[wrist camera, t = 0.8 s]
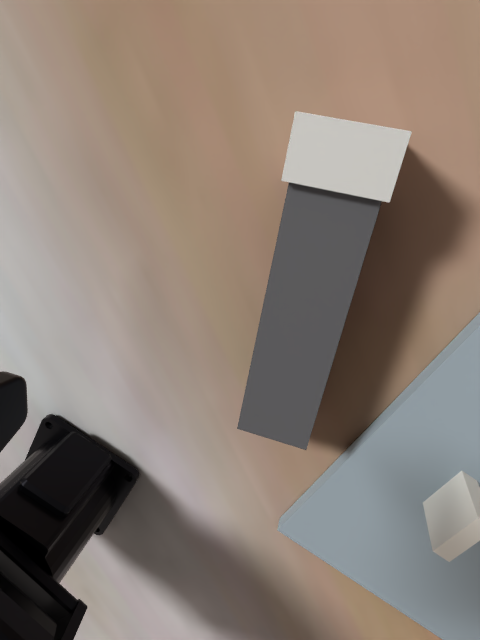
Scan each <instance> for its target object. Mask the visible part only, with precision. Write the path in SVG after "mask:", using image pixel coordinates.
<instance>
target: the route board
mask: <svg viewBox="0 0 480 640" xmlns="http://www.w3.org/2000/svg"><path fill="white" fill-rule="evenodd" d="M278 531H279V532H281V533H282V534H284V535H285V536H287V537H288V538H290V539H291V540H293V541H294V542H296V543H298V544H299V545H301V546H302V547H304V548H305V549H307V550H308V551H310V552H311V553H313V554H314V555H316V556H317V557H319V558H320V559H322V560H323V561H325V562H326V563H328V564H329V565H331V566H332V567H334V568H335V569H337V570H338V571H340V572H341V573H343V574H344V575H346V576H347V577H349V578H350V579H352V580H353V581H355V582H356V583H358V584H360V585H361V586H363V587H364V588H366V589H367V590H369V591H370V592H372V593H373V594H375V595H376V596H378V597H379V598H381V599H382V600H384V601H385V602H387V603H388V604H390V605H391V606H393V607H394V608H396V609H397V610H399V611H400V612H402V613H403V614H405V615H406V616H408V617H409V618H411V619H412V620H414V621H415V622H417V623H418V624H420V625H421V626H423V627H425V628H426V629H428V630H429V631H431V632H432V633H434V634H435V635H437V636H438V637H440V638H441V639H443V640H480V313H479V314H478V315H477V316H476V317H475V318H474V319H473V320H472V321H471V322H470V323H469V324H468V325H467V326H466V327H465V328H464V329H463V330H462V331H461V332H460V333H459V334H458V335H457V336H456V337H455V338H454V339H453V340H452V341H451V342H450V343H449V344H448V346H447V347H446V348H445V349H444V350H443V351H442V352H441V353H440V354H439V355H438V356H437V357H436V358H435V359H434V360H433V361H432V362H431V363H430V364H429V365H428V366H427V367H426V368H425V369H424V370H423V371H422V372H421V373H420V374H419V375H418V376H417V377H416V378H415V379H414V381H413V382H412V383H411V384H410V385H409V386H408V387H407V388H406V389H405V390H404V391H403V392H402V393H401V394H400V395H399V396H398V397H397V398H396V399H395V400H394V401H393V402H392V403H391V404H390V405H389V406H388V407H387V408H386V409H385V410H384V411H383V412H382V413H381V415H380V416H379V417H378V418H377V419H376V420H375V421H374V422H373V423H372V424H371V425H370V426H369V427H368V428H367V429H366V430H365V431H364V432H363V433H362V434H361V435H360V436H359V437H358V438H357V439H356V440H355V441H354V442H353V443H352V444H351V445H350V446H349V447H348V449H347V450H346V451H345V452H344V453H343V454H342V455H341V456H340V457H339V458H338V459H337V460H336V461H335V462H334V463H333V464H332V465H331V466H330V467H329V468H328V469H327V470H326V471H325V472H324V473H323V474H322V475H321V476H320V477H319V478H318V479H317V480H316V481H315V483H314V484H313V485H312V486H311V487H310V488H309V489H308V490H307V491H306V492H305V493H304V494H303V495H302V496H301V497H300V498H299V499H298V500H297V501H296V502H295V503H294V504H293V505H292V506H291V507H290V508H289V509H288V510H287V511H286V512H285V513H284V514H283V515H282V516H281V518H280V520H279V525H278Z"/></svg>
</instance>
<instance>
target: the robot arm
mask: <svg viewBox="0 0 480 640" xmlns="http://www.w3.org/2000/svg"><path fill="white" fill-rule="evenodd" d="M27 411H28V409H27V387H26V381H25V379H24V378H23V377H21V376H18V375H15V374H12V373H9V372H0V452H1V451H2V450H3V448H4V447H5V446H6V445H7V443H8V442H9V441H10V440H11V439H12V437H13V436H14V435H15V434H16V432H17V431H18V430H19V429H20V427H21V426H22V425H23V423H24V421H25V419H26V417H27ZM138 478H139V472H138V471H137V470H136V469H135V468H134V467H132V466H131V465H129V464H128V463H126V462H125V461H123V460H122V459H120V458H119V457H117V456H116V455H114V454H113V453H111V452H110V451H108V450H107V449H105V448H104V447H102V446H101V445H99V444H98V443H96V442H95V441H93V440H92V439H90V438H89V437H87V436H86V435H84V434H83V433H81V432H80V431H78V430H77V429H75V428H74V427H72V426H71V425H69V424H67V423H66V422H64V421H63V420H61V419H60V418H58V417H57V416H55V415H53V414H49V415H47V416H46V417H45V418H44V419H43V420H42V421H41V424H40V426H39V429H38V431H37V433H36V436H35V438H34V440H33V443H32V445H31V447H30V450H29V452H28V454H27V457H26V459H25V461H24V462H23V463H22V464H21V465H20V466H19V467H18V468H16V469H15V470H14V471H13V472H12V473H11V474H10V475H9V476H8V477H7V478H6V479H5V480H3V481H2V482H1V483H0V640H73V639H74V637H75V635H76V632H77V630H78V628H79V625H80V623H81V621H82V619H83V616H84V614H85V612H86V609H87V605H86V604H84V603H83V602H82V601H81V600H80V599H78V600H77V599H76V598H75V597H73V596H72V595H71V594H70V593H69V592H68V591H67V590H66V589H65V588H64V587H63V586H61V585H60V584H59V583H60V582H61V580H62V579H63V577H64V576H65V574H66V573H67V571H68V570H69V569H70V567H71V566H72V564H73V563H74V561H75V560H76V558H77V557H78V556H79V554H80V553H81V551H82V550H83V548H84V547H85V545H86V544H87V542H88V541H89V540H90V538H91V537H92V535H93V534H96V535H102V534H103V532H104V531H105V529H106V528H107V526H108V525H109V523H110V522H111V520H112V519H113V517H114V516H115V514H116V512H117V511H118V509H119V508H120V506H121V505H122V503H123V502H124V500H125V498H126V497H127V495H128V494H129V492H130V491H131V489H132V488H133V486H134V485H135V483H136V481H137V480H138Z"/></svg>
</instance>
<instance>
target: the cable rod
mask: <svg viewBox="0 0 480 640" xmlns="http://www.w3.org/2000/svg"><path fill="white" fill-rule="evenodd" d="M411 132H412V131H407V130H401V129H395V128H389V127H384V126H378V125H372V124H366V123H361V122H355V121H349V120H343V119H337V118H332V117H326V116H320V115H314V114H309V113H303V112H297V111H295V116H294V121H293V126H292V131H291V136H290V140H289V145H288V150H287V155H286V160H285V165H284V170H283V175H282V180H281V181H286V182H289V185H288V190H287V194H286V199H285V204H284V209H283V213H282V218H281V223H280V228H279V232H278V237H277V242H276V247H275V251H274V256H273V261H272V266H271V270H270V275H269V280H268V285H267V289H266V294H265V299H264V304H263V308H262V313H261V318H260V323H259V328H258V332H257V337H256V342H255V347H254V351H253V356H252V361H251V366H250V370H249V375H248V380H247V385H246V389H245V394H244V399H243V404H242V408H241V413H240V418H239V423H238V427H237V429H240V430H243V431H247V432H250V433H253V434H256V435H259V436H263V437H266V438H269V439H272V440H276V441H279V442H282V443H285V444H288V445H292V446H295V447H298V448H301V449H304V450H306V449H307V445H308V442H309V439H310V435H311V432H312V429H313V425H314V422H315V419H316V416H317V412H318V409H319V406H320V402H321V399H322V396H323V393H324V389H325V386H326V383H327V379H328V376H329V373H330V370H331V366H332V363H333V360H334V356H335V353H336V350H337V347H338V343H339V340H340V337H341V333H342V330H343V327H344V324H345V320H346V317H347V314H348V310H349V307H350V304H351V301H352V297H353V294H354V291H355V287H356V284H357V281H358V278H359V274H360V271H361V268H362V264H363V261H364V258H365V255H366V251H367V248H368V245H369V241H370V238H371V235H372V232H373V228H374V225H375V222H376V218H377V215H378V212H379V209H380V205H381V202H382V201H384V202H389V203H390V200H391V196H392V193H393V190H394V187H395V184H396V180H397V177H398V174H399V171H400V168H401V164H402V161H403V158H404V155H405V152H406V148H407V145H408V142H409V139H410V136H411Z"/></svg>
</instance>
